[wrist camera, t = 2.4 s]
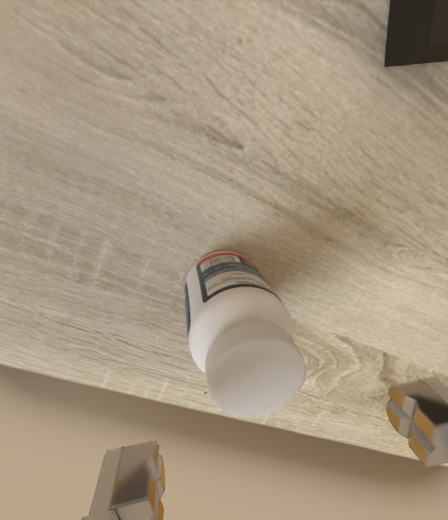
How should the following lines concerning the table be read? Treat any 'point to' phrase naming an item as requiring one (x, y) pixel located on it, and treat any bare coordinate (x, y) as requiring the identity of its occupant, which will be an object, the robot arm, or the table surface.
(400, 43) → the socket pad
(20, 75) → the table surface
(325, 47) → the table surface
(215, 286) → the pill bottle
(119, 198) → the table surface
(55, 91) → the table surface
